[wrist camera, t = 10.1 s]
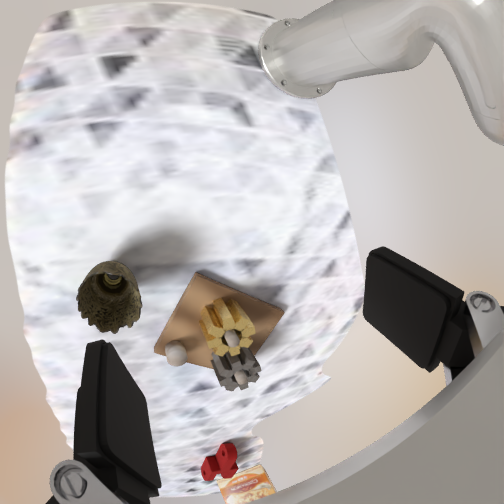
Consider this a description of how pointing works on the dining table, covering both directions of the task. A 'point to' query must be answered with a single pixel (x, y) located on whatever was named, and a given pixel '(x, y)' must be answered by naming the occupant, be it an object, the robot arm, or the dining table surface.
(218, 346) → the brass gear
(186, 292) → the gear board
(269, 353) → the dining table surface
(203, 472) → the mechanical linkage
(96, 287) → the cup
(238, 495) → the coffeecake box
